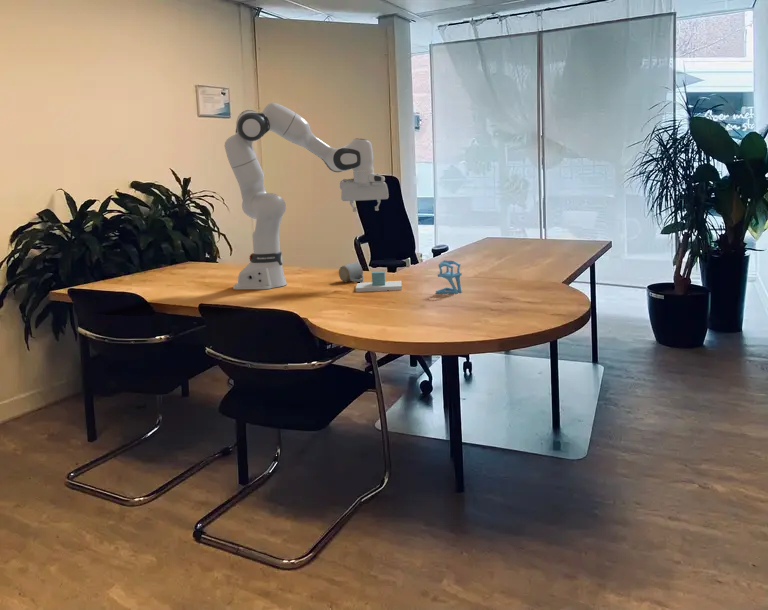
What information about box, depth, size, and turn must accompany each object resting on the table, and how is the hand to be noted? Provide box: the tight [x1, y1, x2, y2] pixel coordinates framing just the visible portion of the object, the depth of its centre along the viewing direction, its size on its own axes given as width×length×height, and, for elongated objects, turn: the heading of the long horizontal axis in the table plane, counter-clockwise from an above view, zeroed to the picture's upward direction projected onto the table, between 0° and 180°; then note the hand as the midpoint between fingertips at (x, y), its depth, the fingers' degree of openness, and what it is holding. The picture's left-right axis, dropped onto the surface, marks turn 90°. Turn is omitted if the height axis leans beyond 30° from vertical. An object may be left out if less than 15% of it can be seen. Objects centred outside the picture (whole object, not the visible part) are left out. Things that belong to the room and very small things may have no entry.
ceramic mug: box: [338, 261, 364, 283], centre depth 276 cm, size 11×8×8 cm
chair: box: [435, 259, 463, 295], centre depth 241 cm, size 8×8×12 cm
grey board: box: [355, 280, 403, 293], centre depth 258 cm, size 18×12×2 cm, turn 89°
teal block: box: [371, 270, 386, 286], centre depth 257 cm, size 5×5×5 cm
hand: (365, 211), depth 277 cm, fingers open, 8 cm apart
